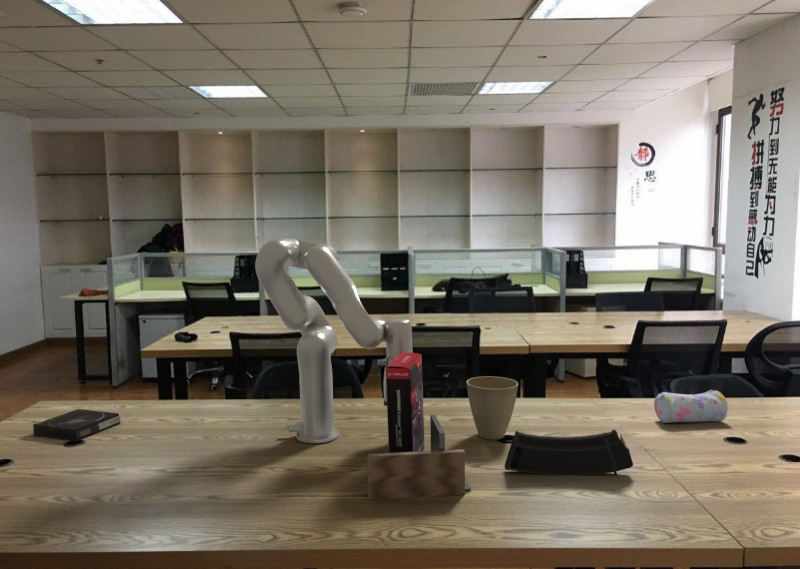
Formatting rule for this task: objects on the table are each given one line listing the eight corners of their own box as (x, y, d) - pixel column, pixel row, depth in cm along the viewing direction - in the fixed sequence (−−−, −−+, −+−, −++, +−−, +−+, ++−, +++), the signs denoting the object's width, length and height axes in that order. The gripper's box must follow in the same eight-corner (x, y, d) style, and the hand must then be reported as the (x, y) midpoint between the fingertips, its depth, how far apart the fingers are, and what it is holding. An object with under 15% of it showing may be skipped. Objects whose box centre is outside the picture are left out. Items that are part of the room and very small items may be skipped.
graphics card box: (413, 475, 147) (412, 366, 145) (386, 473, 149) (384, 365, 146) (424, 450, 164) (424, 352, 162) (400, 448, 165) (398, 351, 163)
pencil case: (712, 415, 191) (713, 386, 190) (730, 424, 183) (731, 393, 182) (651, 419, 189) (651, 389, 188) (666, 427, 180) (667, 397, 179)
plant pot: (495, 448, 164) (495, 391, 163) (456, 435, 176) (455, 382, 174) (528, 435, 174) (528, 382, 173) (489, 424, 185) (489, 373, 184)
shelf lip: (368, 499, 134) (367, 456, 133) (368, 496, 135) (367, 454, 135) (464, 494, 136) (464, 451, 135) (463, 491, 138) (463, 449, 137)
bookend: (439, 492, 137) (439, 433, 136) (430, 468, 151) (430, 414, 150) (470, 491, 138) (470, 432, 137) (458, 467, 152) (458, 413, 150)
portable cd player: (77, 443, 174) (76, 429, 174) (34, 437, 180) (33, 424, 179) (120, 425, 190) (120, 413, 189) (79, 420, 195) (78, 409, 195)
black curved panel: (495, 439, 146) (616, 405, 143) (494, 434, 149) (612, 401, 146) (516, 504, 147) (636, 472, 144) (514, 498, 151) (632, 466, 148)
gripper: (374, 366, 167) (377, 430, 169) (427, 363, 168) (430, 426, 170) (373, 360, 174) (376, 422, 176) (423, 357, 176) (426, 418, 177)
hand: (402, 424), depth 173 cm, fingers closed
